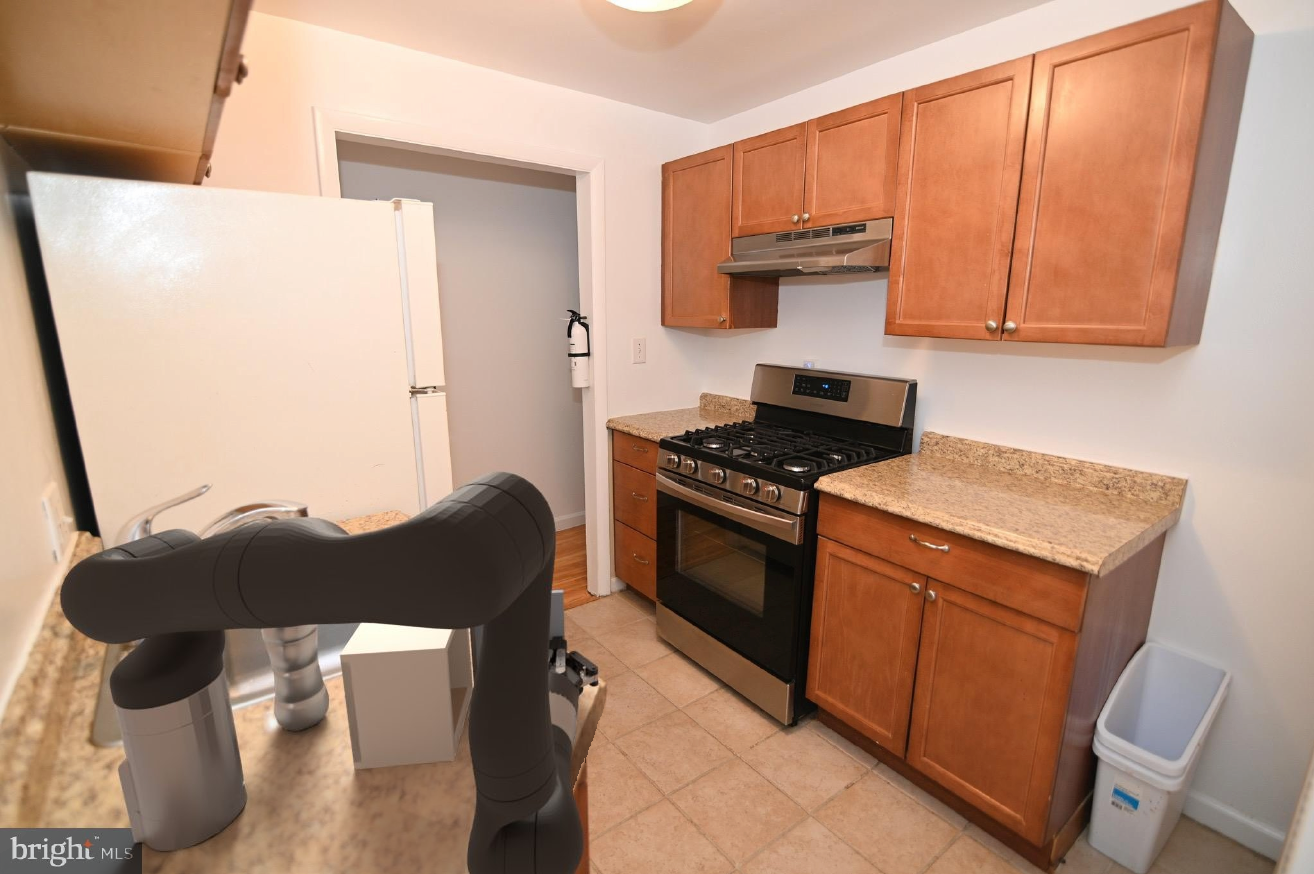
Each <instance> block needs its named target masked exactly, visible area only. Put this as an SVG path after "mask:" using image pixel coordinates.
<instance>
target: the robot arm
mask: <svg viewBox="0 0 1314 874" xmlns="http://www.w3.org/2000/svg"><path fill="white" fill-rule="evenodd" d="M555 523H556V521H555V518H554V514H553V511H552V509H551V507H550V505H549V502H548V501H547V499H546V497H545V496H544V494H543V493H542V492H541V491H540V490H539V489H538V488H537V487H536V485H534V484H533V483H532V482H531V481H529V480H527V479H526V478H524V477H522V476H520V475H518V474H515V473H511V472H506V471H492V472H488V473H485V474H482V475H480V476H479V477H476V478H473V479H472V480H470V481H468V482H466V483H465V484H464V485H462V486H460V487H459V488H457V489H456V490H454V491H452V492H451V493H449V494H447V495H446V496H445V497H443V498H442V499H440V500H439V501H437V502H436V503H434V504H432V505H431V506H430V507H428V508H427V509H425V510H423V511H422V512H420V513H419V514H416V515H415V516H413V517H411V518H409V519H407V520H405V521H402V522H400V523H397V524H394V525H390V526H388V527H384V528H380V529H376V530H371V531H366V532H365V531H364V532H360V533H356V534H349V532H347V531H346V529H344V528H342V527H341V526H340V525H338V524H336V523H334V522H332V521H329V520H327V519H324V518H319V517H311V516H310V517H309V516H299V517H288V518H281V519H275V520H270V521H269V520H268V521H262V522H257V523H253V524H249V525H245V526H241V527H238V528H237V527H236V528H233V529H229V530H227V531H223V532H220V533H217V534H214V535H211V536H209V537H205V538H203V539H202V538H201V537H200V536H199V535H197V534H196V533H194V532H193V531H190V530H187V529H183V528H173V529H168V530H163V531H160V532H156V533H154V534H151V535H148V536H144V537H141V538H138V539H134V540H132V541H129V542H126V543H123V544H120V545H117V546H113V547H111V548H108V549H107V548H106V549H103V550H102V551H99V552H96V553H93V554H91V555H89V556H86V558H83V559H82V560H80V561H79V562H78V563H76V564H75V565H74V566H72V568H71V569H70V570H69V571H68V573H67V574H66V575H65V577H64V579H63V581H62V584H61V587H60V593H59V600H60V607H61V610H62V613H63V615H64V616H65V619H66V620H67V621H68V622H69V624H70V625H71V626H72V627H73V628H74V629H76V630H77V631H78V632H79V633H81V634H82V635H83V636H86V637H87V638H89V639H91V640H93V641H96V642H100V643H103V644H109V645H122V644H127V643H131V642H135V641H139V640H142V641H141V642H140V643H139V644H138V645H137V646H136V647H135V648H133V649H132V650H131V651H130V652H128V654H126V655H125V657H123V658H122V659H121V660H120V661H119V662H118V664H116V666H115V667H114V668H113V670H112V672H111V674H110V677H109V691H110V694H111V699H112V701H113V702H112V703H113V706H114V711H115V716H116V719H117V723H118V727H119V731H120V736H121V740H122V744H123V745H122V746H123V749H124V753H125V759H124V760H122V762H121V763H120V764H119V765H118V767H117V773H118V776H119V781H120V786H121V789H122V794H123V797H124V798H123V799H124V804H125V808H126V811H127V816H128V820H129V824H130V829H131V833H132V838H133V841H134V843H136V844H138V843H144V844H146V845H147V846H148V847H149V848H150V849H151V850H152V849H153V850H155V851H161V852H162V851H163V852H170V851H177V850H182V849H186V848H190V847H192V846H195V845H197V844H200V843H201V842H204V841H205V840H207V839H210V838H211V837H213V836H215V835H216V834H219V833H220V832H221V831H222V830H223V829H225V828H227V826H229V825H230V824H231V823H232V821H234V820H235V819H236V818H237V817H238V816H239V814H240V813H242V810H243V808H244V806H245V805H246V802H247V798H248V795H247V788H246V780H245V777H244V771H243V764H242V763H243V762H242V759H241V752H240V747H239V741H238V735H237V730H236V725H235V719H234V714H233V708H232V702H231V698H230V697H231V696H230V691H229V684H228V681H227V675H226V670H225V665H224V664H225V663H224V657H223V653H224V651H225V646H226V630H227V631H228V630H241V629H252V630H253V629H254V630H255V629H257V630H258V629H259V630H262V629H265V628H284V627H295V626H302V625H316V624H318V625H344V624H345V625H346V624H361V623H376V624H388V625H399V626H410V627H421V628H432V629H467V628H469V629H470V628H472V627H477V626H480V625H483V630H482V641H481V648H480V656H479V661H478V666H477V671H476V676H475V681H473V691H472V696H471V700H470V703H469V714H468V724H467V736H468V737H467V738H468V747H469V755H470V760H471V765H472V772H473V779H474V784H475V793H476V795H475V797H476V798H475V800H476V801H475V809H474V817H473V822H472V825H471V830H470V834H469V839H468V844H467V845H468V846H467V854H466V856H467V857H466V865H467V871H468V874H575V873H576V872H577V870H578V868H579V866H580V864H581V861H582V857H583V855H584V848H585V847H584V846H585V845H584V843H585V841H584V840H585V839H584V830H583V825H582V820H581V815H580V812H579V808H578V806H577V803H576V799H575V796H574V792H573V789H572V783H571V782H572V781H571V780H572V779H571V771H572V770H571V769H572V759H573V758H572V756H573V748H574V745H575V743H576V742H575V741H576V735H577V731H578V724H577V723H578V712H579V710H578V709H579V702H580V701H579V698H580V696H581V695H582V694H583V692H584V690H585V689H584V687H586V686H588V685H589V686H590V687H597V686H598V685H599V667H598V666H597V665H596V664H595V663H593V662H592V661H591V660H590V659H588V658H586V657H585V656H584V655H583V654H581V653H579V652H578V651H577V650H572V651H569V652H568V640H567V639H566V638H565V639H563V636H556V637H553V639H552V640H549V636H550V616H551V596H552V590H553V585H554V584H553V583H554V582H553V581H554V571H555V562H556V561H555V560H556V548H557V547H556V546H557V545H556V544H557V541H556V540H557V534H556V532H557V531H556V524H555ZM554 663H556V665H554Z"/></svg>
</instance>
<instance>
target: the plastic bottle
mask: <svg viewBox="0 0 1314 874" xmlns="http://www.w3.org/2000/svg"><path fill="white" fill-rule="evenodd" d="M318 628H319V624H316V625H302V626H295V627H284V628H265V629H260V630H261V631H260V632H261V636H262V640H263V642H264V645H265V648H266V651H267V654H268V657H269V661H270V665H271V667H272V672H273V680H274V681H273V684H274V703H273V704H274V705H273V715H274V717H275V718H276V722H277V724H278V726H280V727H281V728H283V729H285V730H287V731H291V732H292V731H293V732H294V731H295V732H296V731H302V730H306V729H309V728H311V727H313V726H315V725H317V724H319V723H320V722H321V721H322V720H323V719H324V717H326V714H327V712H328V710H329V707H330V706H329V705H330V695H329V691H328V689H327V686H326V684H325V682H324V679H323V674H322V670H321V666H320V662H319V650H318V632H319V629H318Z"/></svg>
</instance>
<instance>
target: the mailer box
mask: <svg viewBox="0 0 1314 874" xmlns="http://www.w3.org/2000/svg"><path fill="white" fill-rule="evenodd" d="M339 659H340V667H341V675H342V682H343V683H342V684H343V690H344V699H345V700H344V701H345V705H346V706H345V707H346V716H347V721H348V728H349V729H348V730H349V731H348V732H349V736H350V737H349V738H350V739H349V740H350V746H351V747H350V748H351V754H352V760H353V761H352V762H353V767H354V768H353V769H354V770H362V769H373V768H376V769H377V768H386V767H387V768H388V767H396V766H397V767H398V766H409V765H419V764H420V765H421V764H431V763H441V762H443V763H444V762H454V761H455V760H456V759H455V758H456V755H457V752H458V747H459V745H460V740H461V737H462V733H463V731H464V730H463V729H464V726H465V721H466V718H467V715H468V711H469V708H470V703H471V697H472V691H473V686H474V682H473V668H472V654H471V640H470V628H467V629H432V628H421V627H410V626H399V625H388V624H376V623H359V625H358V627H357V628H356V630H355V631H354V633H353V635H352V636H351V637H350V639H349V640H348V642H347V643H346V645H345V647H343V649H342V651H341V652H340V654H339Z"/></svg>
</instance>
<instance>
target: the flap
mask: <svg viewBox="0 0 1314 874" xmlns="http://www.w3.org/2000/svg"><path fill="white" fill-rule="evenodd" d="M564 601H565V598H564V589H554V590H553V589H552V596H551V616H550V636H549V640H552V639H553V637H556V636H563V639H566V638H565V637H566V633H565V606H564V605H565V604H564V603H565V602H564ZM482 630H483V625H480V626H477V627H472V628H469V640H470V654H471V668H472V682H474V681H475V676H476V671H477V666H478V661H479V656H480V648H481V641H482ZM554 665H556V663H554Z"/></svg>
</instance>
